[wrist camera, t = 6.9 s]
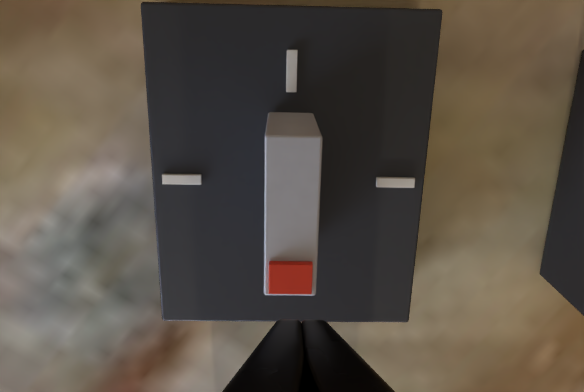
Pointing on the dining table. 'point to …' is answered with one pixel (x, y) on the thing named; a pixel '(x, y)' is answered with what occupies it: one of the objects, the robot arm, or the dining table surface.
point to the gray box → (291, 203)
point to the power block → (569, 210)
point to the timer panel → (251, 152)
